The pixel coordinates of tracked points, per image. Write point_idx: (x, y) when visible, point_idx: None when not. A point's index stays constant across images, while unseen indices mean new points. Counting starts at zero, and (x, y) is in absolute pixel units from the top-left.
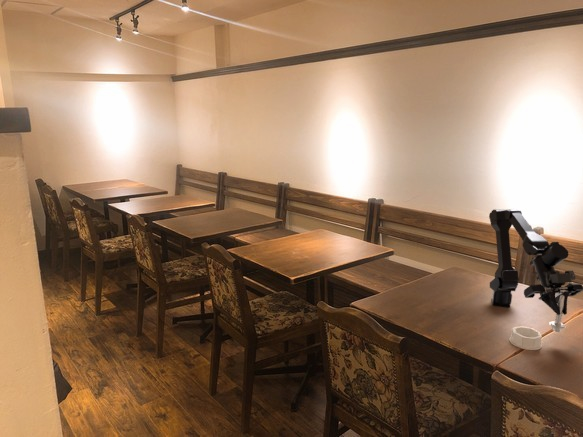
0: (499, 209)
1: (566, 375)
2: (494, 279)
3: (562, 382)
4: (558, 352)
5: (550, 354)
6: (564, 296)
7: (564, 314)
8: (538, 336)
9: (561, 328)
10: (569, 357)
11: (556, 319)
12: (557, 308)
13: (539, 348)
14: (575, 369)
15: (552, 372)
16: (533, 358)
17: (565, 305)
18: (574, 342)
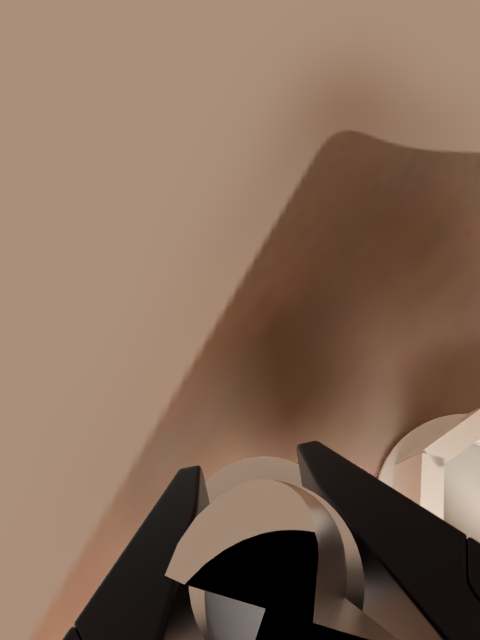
0: None
1: (339, 197)
2: None
3: (376, 153)
4: (286, 408)
5: (348, 376)
6: (171, 567)
7: (206, 495)
8: (450, 451)
9: (255, 457)
10: (244, 354)
11: (297, 536)
12: (365, 479)
13: (405, 436)
14: (272, 244)
15: (396, 210)
16: (465, 320)
17: (144, 570)
18: (84, 587)
